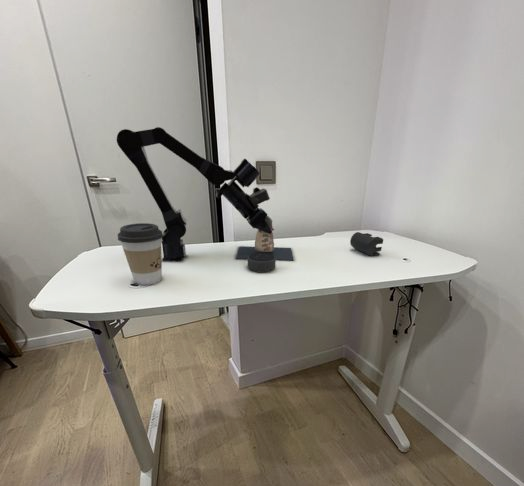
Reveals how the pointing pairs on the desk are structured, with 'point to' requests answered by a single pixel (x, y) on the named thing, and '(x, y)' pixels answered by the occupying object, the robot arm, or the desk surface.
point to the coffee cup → (143, 251)
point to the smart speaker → (261, 262)
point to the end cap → (366, 243)
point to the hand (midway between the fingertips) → (268, 230)
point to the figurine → (265, 238)
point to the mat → (277, 252)
